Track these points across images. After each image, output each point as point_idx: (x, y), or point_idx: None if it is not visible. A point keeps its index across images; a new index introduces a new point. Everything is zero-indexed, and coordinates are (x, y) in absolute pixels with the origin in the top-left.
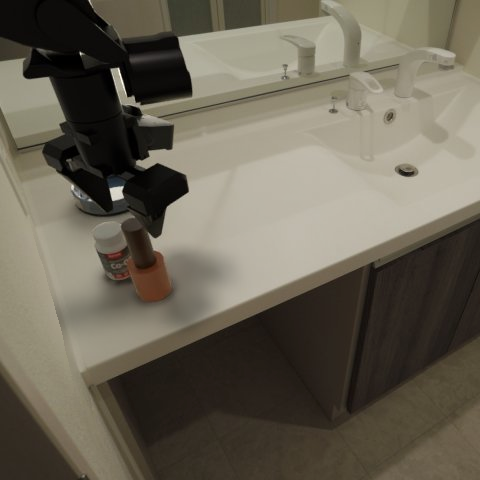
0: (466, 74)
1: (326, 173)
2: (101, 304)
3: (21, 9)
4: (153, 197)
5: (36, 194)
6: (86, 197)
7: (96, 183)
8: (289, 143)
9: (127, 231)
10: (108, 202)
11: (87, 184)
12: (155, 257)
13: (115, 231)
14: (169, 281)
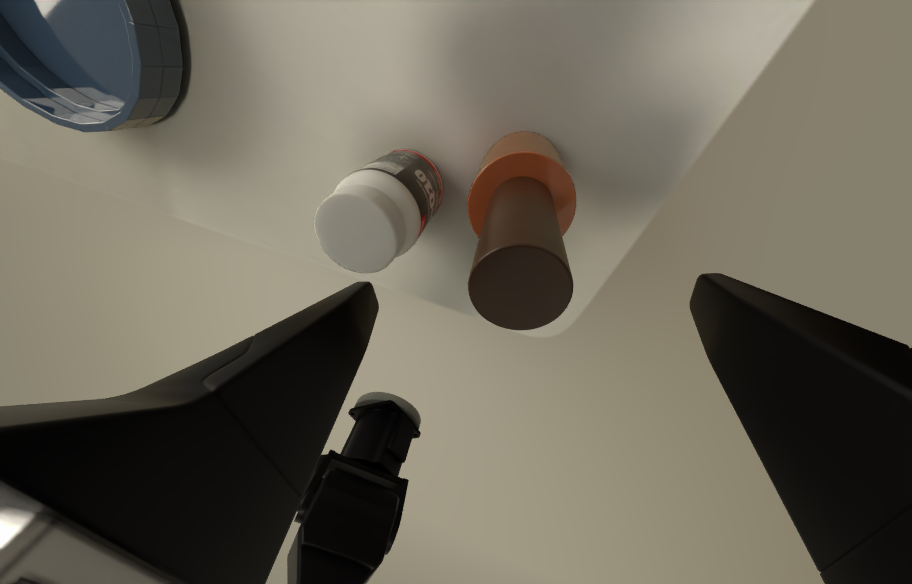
0: None
1: None
2: (465, 266)
3: None
4: None
5: (45, 164)
6: (81, 82)
7: (278, 426)
8: None
9: (538, 326)
10: (354, 317)
11: (285, 476)
12: (545, 188)
13: (378, 225)
14: (557, 151)
